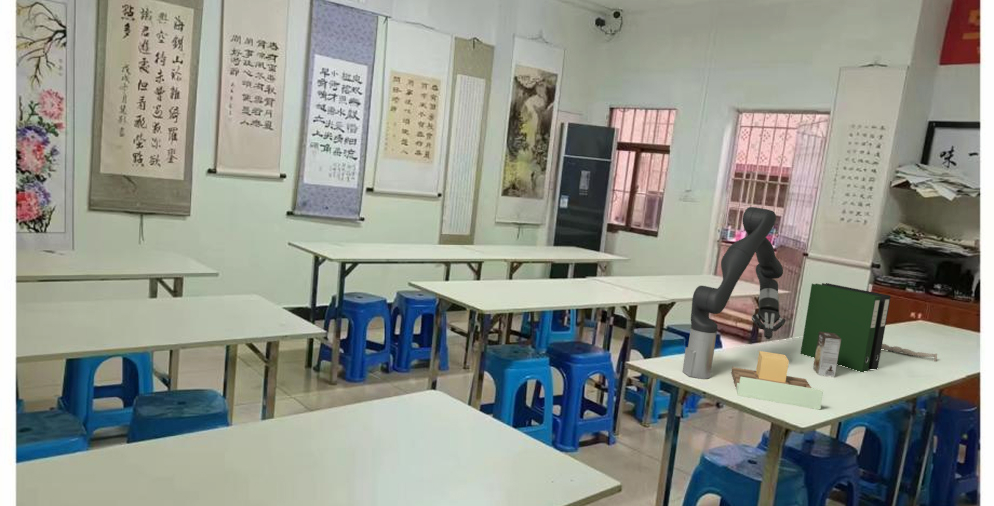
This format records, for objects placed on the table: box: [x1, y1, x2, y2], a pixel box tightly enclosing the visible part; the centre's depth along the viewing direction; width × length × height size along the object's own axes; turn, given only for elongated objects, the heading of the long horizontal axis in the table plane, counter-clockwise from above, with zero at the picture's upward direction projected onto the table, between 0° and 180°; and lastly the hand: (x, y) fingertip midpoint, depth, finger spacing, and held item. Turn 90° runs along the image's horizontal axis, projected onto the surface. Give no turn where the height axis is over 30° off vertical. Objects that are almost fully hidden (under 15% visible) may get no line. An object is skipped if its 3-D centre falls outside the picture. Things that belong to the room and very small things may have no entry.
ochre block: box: [755, 350, 790, 382], centre depth 243 cm, size 9×9×8 cm
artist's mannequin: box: [881, 343, 938, 362], centre depth 317 cm, size 28×4×30 cm
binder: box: [800, 282, 892, 373], centre depth 287 cm, size 27×15×32 cm, turn 36°
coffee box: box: [812, 332, 841, 378], centre depth 265 cm, size 9×6×16 cm
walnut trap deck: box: [730, 366, 812, 388], centre depth 236 cm, size 27×26×2 cm
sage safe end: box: [735, 377, 824, 410], centre depth 225 cm, size 7×26×6 cm, turn 75°
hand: (768, 338), depth 259 cm, fingers closed
